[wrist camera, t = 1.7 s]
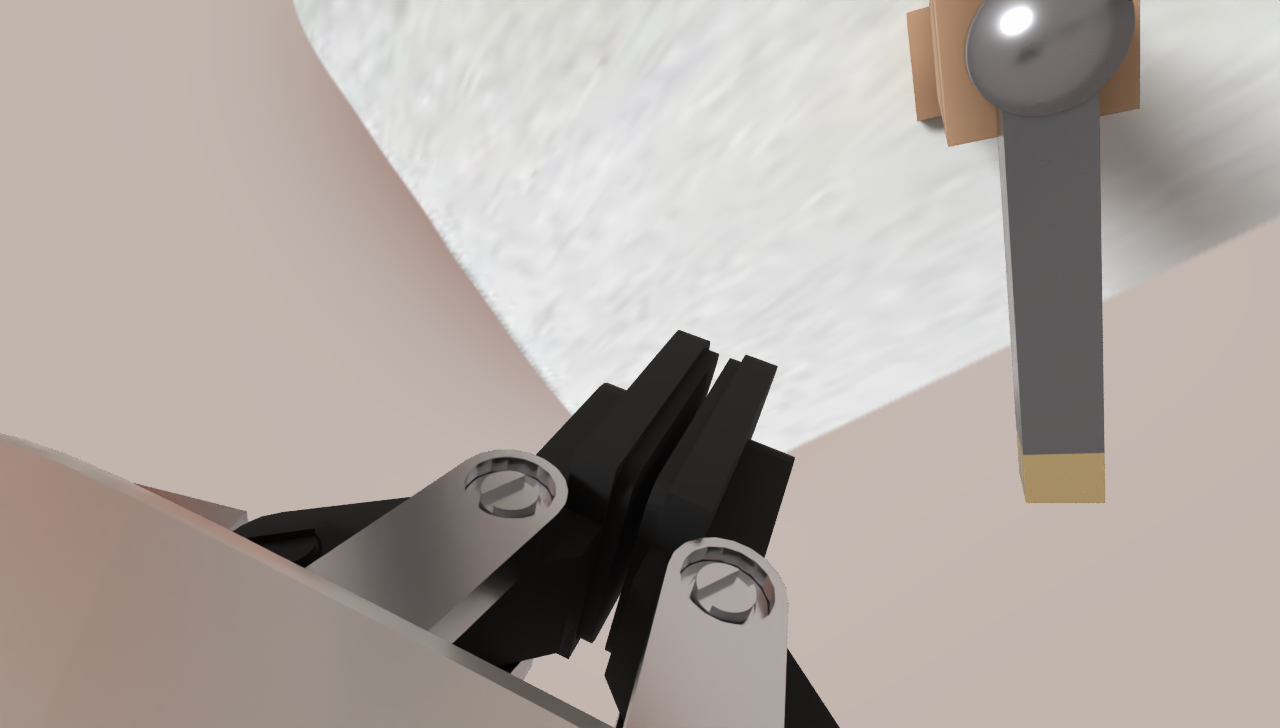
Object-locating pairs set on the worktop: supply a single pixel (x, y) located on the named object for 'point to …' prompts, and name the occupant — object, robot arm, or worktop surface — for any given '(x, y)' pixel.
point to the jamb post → (950, 88)
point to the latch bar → (1052, 223)
